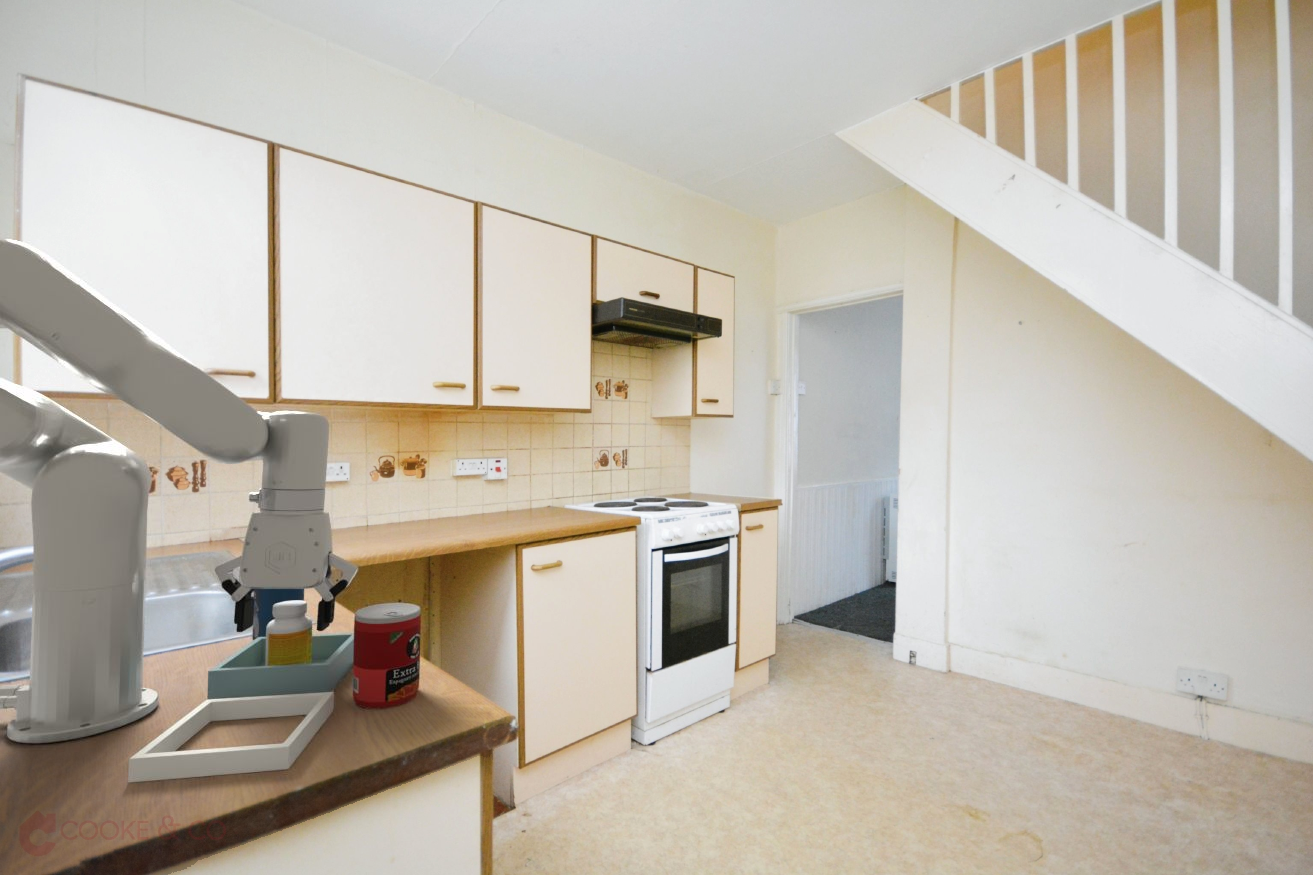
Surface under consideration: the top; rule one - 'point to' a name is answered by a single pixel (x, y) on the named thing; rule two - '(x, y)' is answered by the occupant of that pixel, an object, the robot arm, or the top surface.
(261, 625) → the soda can
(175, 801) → the top surface
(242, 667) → the teal bin
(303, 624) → the supplement bottle
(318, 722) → the white frame
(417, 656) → the canned food
